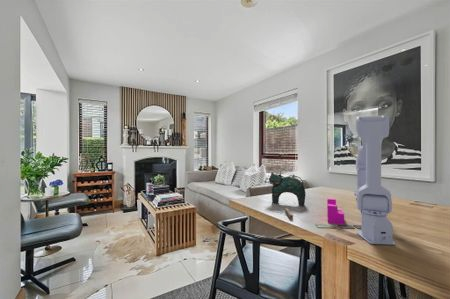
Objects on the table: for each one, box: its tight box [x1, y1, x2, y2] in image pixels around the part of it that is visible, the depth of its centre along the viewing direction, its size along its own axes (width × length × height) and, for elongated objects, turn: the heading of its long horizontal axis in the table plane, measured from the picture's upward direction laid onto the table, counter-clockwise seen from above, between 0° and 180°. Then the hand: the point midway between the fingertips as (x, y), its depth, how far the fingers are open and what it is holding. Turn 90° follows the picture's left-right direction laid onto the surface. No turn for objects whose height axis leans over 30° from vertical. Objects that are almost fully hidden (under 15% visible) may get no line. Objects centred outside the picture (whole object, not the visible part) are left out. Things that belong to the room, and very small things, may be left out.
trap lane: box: [284, 207, 362, 230], centre depth 98 cm, size 21×29×2 cm
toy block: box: [326, 197, 345, 225], centre depth 100 cm, size 15×6×8 cm, turn 156°
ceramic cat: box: [268, 168, 306, 207], centre depth 126 cm, size 20×6×20 cm, turn 67°
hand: (364, 214), depth 99 cm, fingers closed
